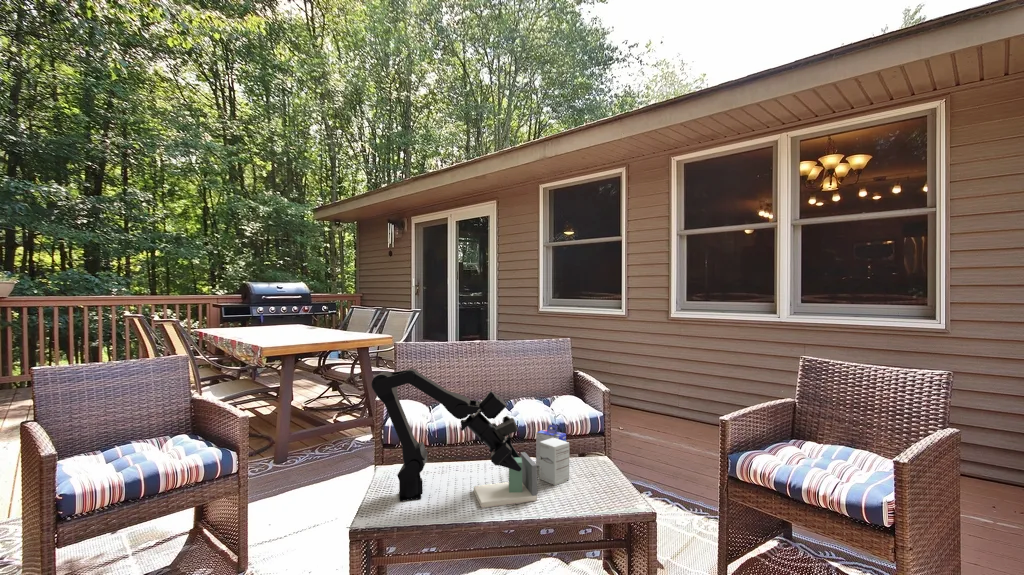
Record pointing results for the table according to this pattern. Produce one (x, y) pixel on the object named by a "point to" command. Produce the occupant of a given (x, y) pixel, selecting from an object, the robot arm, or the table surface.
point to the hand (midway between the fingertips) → (519, 464)
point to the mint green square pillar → (515, 478)
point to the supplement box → (554, 461)
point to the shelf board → (500, 491)
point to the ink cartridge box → (546, 435)
